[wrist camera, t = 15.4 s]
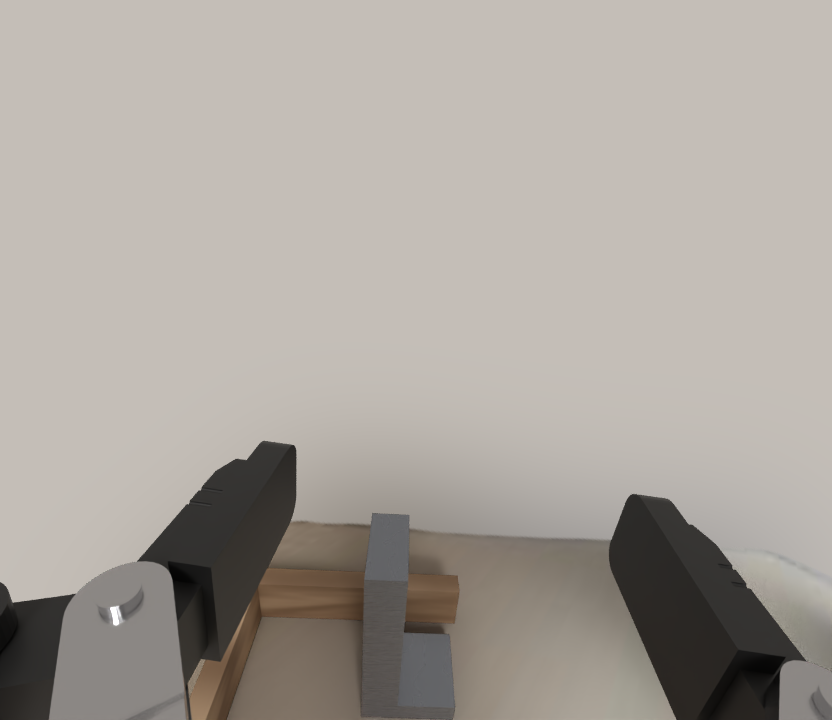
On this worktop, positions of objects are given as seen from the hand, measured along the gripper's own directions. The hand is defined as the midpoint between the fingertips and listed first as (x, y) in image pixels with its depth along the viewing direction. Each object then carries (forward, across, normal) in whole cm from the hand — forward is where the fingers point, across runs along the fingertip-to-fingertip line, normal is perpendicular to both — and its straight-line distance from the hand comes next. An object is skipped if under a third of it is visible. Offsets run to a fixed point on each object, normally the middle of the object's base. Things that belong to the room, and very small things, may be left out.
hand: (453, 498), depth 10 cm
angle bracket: (+12, -1, +27) cm, 30 cm away
